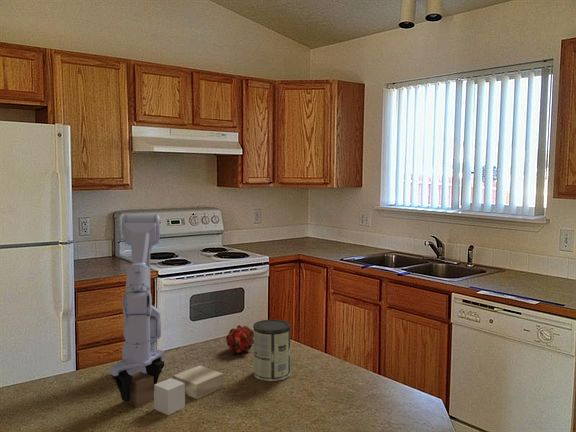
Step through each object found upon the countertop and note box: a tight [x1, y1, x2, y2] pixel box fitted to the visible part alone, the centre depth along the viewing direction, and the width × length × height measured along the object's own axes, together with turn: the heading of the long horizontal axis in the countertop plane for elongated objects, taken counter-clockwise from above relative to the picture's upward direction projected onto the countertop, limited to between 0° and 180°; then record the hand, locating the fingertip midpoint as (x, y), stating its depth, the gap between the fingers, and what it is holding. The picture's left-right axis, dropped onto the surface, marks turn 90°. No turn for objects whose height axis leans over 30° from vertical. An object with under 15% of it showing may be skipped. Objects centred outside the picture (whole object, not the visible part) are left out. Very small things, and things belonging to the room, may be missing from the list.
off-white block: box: [153, 377, 186, 416], centre depth 122 cm, size 5×5×6 cm
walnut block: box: [123, 372, 154, 408], centre depth 126 cm, size 5×5×6 cm
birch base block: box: [172, 365, 224, 400], centre depth 134 cm, size 9×9×4 cm
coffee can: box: [252, 319, 292, 382], centre depth 143 cm, size 10×10×14 cm
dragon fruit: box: [225, 324, 254, 355], centre depth 161 cm, size 8×8×12 cm
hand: (138, 395), depth 126 cm, fingers open, 7 cm apart
